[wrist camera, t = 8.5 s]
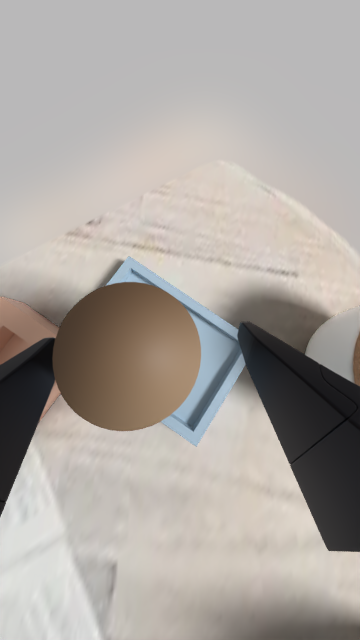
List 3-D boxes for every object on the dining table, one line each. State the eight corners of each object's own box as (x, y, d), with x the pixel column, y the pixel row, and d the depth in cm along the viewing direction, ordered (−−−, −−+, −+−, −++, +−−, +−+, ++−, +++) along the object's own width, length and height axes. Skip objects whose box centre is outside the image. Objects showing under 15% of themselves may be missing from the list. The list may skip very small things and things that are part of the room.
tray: (250, 343, 17) (258, 343, 15) (193, 436, 16) (196, 446, 14) (132, 263, 17) (129, 256, 16) (68, 347, 16) (56, 348, 14)
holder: (92, 350, 16) (79, 352, 14) (34, 428, 15) (11, 443, 13) (23, 302, 16) (1, 296, 14) (-39, 375, 15) (-74, 381, 13)
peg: (185, 350, 16) (229, 370, 4) (156, 370, 15) (103, 465, 3) (165, 320, 16) (149, 256, 4) (136, 340, 16) (24, 333, 4)
